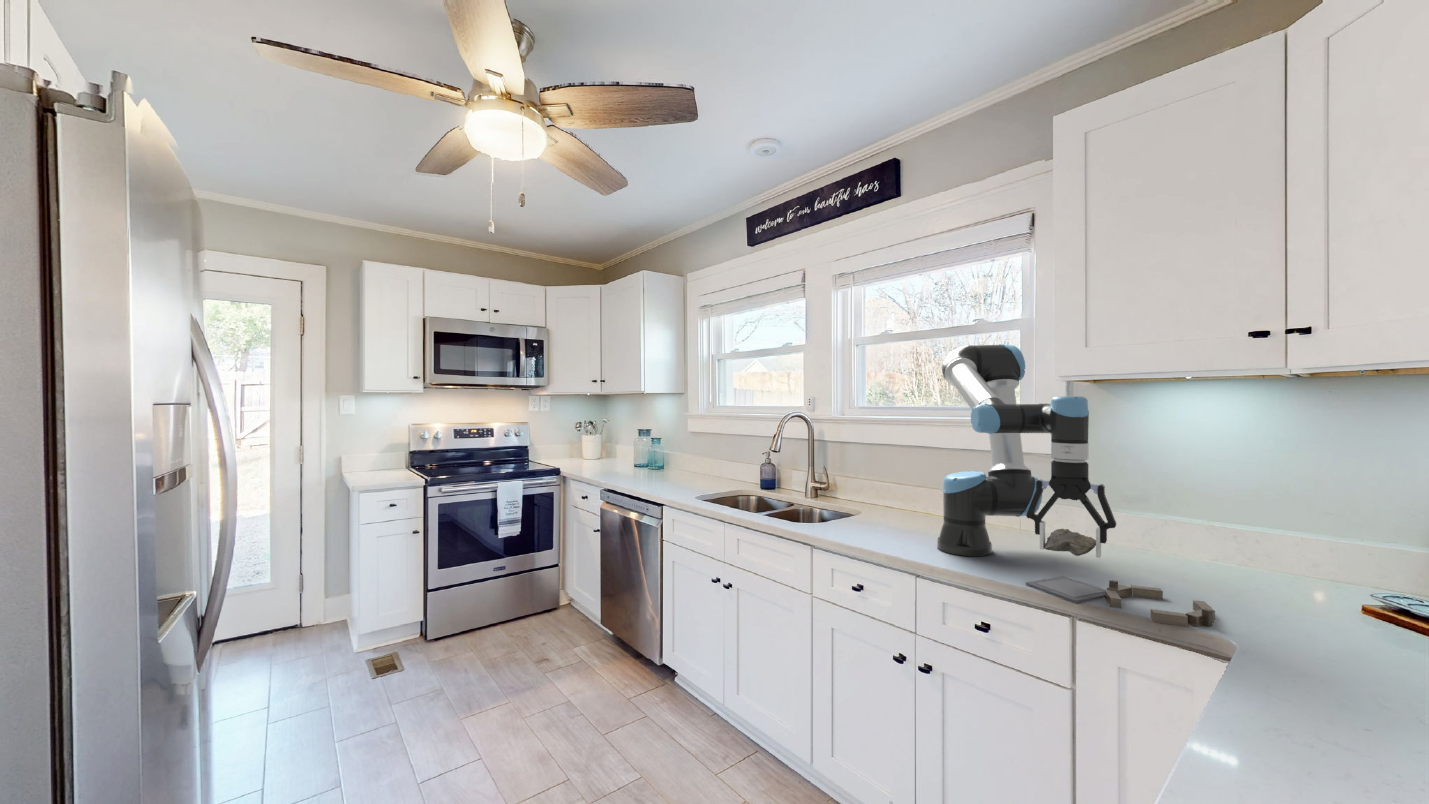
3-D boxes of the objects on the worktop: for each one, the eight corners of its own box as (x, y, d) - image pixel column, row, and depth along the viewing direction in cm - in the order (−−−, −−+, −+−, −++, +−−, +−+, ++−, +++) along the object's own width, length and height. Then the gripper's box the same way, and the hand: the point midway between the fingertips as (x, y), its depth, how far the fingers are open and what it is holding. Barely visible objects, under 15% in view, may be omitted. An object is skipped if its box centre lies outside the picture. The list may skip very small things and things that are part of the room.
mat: (1025, 584, 137) (1025, 581, 136) (1063, 578, 141) (1063, 575, 141) (1075, 603, 124) (1075, 600, 124) (1115, 595, 129) (1115, 592, 129)
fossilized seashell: (1078, 540, 138) (1079, 517, 136) (1108, 567, 129) (1109, 542, 126) (1036, 548, 139) (1036, 525, 136) (1062, 575, 129) (1062, 551, 127)
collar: (1086, 598, 127) (1086, 584, 127) (1134, 588, 133) (1134, 575, 133) (1183, 632, 109) (1183, 616, 109) (1235, 620, 114) (1236, 605, 114)
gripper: (1012, 458, 137) (1012, 547, 137) (1128, 465, 122) (1129, 565, 122) (1018, 456, 143) (1019, 541, 143) (1131, 462, 128) (1131, 557, 128)
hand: (1069, 552), depth 132 cm, fingers closed on fossilized seashell, 11 cm apart
